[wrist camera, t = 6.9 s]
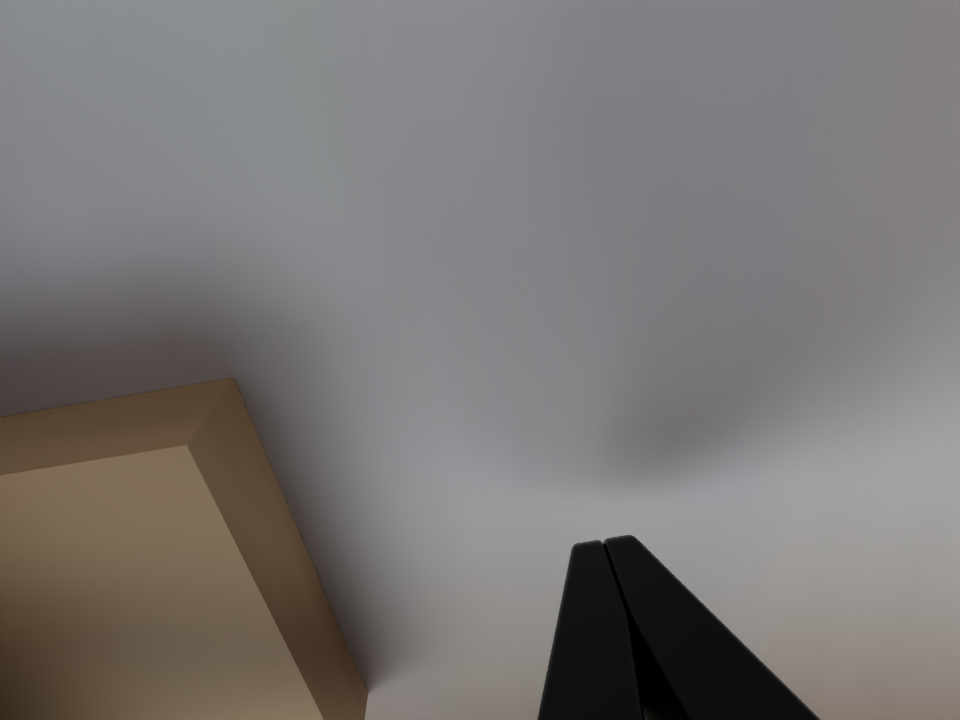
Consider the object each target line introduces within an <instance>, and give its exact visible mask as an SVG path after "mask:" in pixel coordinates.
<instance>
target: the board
mask: <svg viewBox="0 0 960 720" xmlns="http://www.w3.org/2000/svg"><path fill="white" fill-rule="evenodd" d="M367 697H368V693H367V690H366V688H365V686H364V683H363V681H362V678H361V676H360V674H359V671H358V669H357V667H356V664H355V662H354V660H353V657H352V655H351V653H350V650H349V648H348V645H347V643H346V641H345V638H344V636H343V634H342V631H341V629H340V627H339V624H338V622H337V620H336V617H335V615H334V612H333V610H332V608H331V605H330V603H329V601H328V598H327V596H326V594H325V591H324V589H323V587H322V584H321V582H320V580H319V577H318V575H317V572H316V570H315V568H314V565H313V563H312V561H311V558H310V556H309V554H308V551H307V549H306V547H305V544H304V542H303V539H302V537H301V535H300V532H299V530H298V528H297V525H296V523H295V521H294V518H293V516H292V514H291V511H290V509H289V507H288V504H287V502H286V499H285V497H284V495H283V492H282V490H281V488H280V485H279V483H278V481H277V478H276V476H275V474H274V471H273V469H272V466H271V464H270V462H269V459H268V457H267V455H266V452H265V450H264V448H263V445H262V443H261V441H260V438H259V436H258V434H257V431H256V429H255V426H254V424H253V422H252V419H251V417H250V415H249V412H248V410H247V408H246V405H245V403H244V401H243V398H242V396H241V393H240V391H239V389H238V386H237V384H236V382H235V379H234V378H228V379H222V380H216V381H210V382H204V383H198V384H192V385H186V386H180V387H174V388H169V389H163V390H157V391H151V392H145V393H139V394H133V395H127V396H121V397H115V398H109V399H104V400H98V401H92V402H86V403H80V404H74V405H68V406H62V407H56V408H50V409H44V410H38V411H33V412H27V413H21V414H15V415H9V416H3V417H0V720H364V719H365V712H366V705H367Z"/></svg>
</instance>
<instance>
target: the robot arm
mask: <svg viewBox="0 0 960 720" xmlns="http://www.w3.org/2000/svg"><path fill="white" fill-rule="evenodd" d="M537 720H820V719H819V718H818V717H817V716H816V715H815V714H814V713H813V712H812V711H811V710H810V709H809V708H808V707H807V706H806V705H805V704H804V703H803V702H802V701H801V700H800V699H799V698H798V697H797V696H796V695H795V694H794V693H793V692H792V691H791V690H790V689H789V688H788V687H787V686H786V685H785V684H784V683H783V682H782V681H781V680H780V679H779V678H778V677H777V676H776V675H775V674H774V673H773V672H772V671H771V670H770V669H769V668H768V667H767V666H766V665H765V664H764V663H763V662H762V661H760V660H759V659H758V658H757V657H756V656H755V655H754V654H753V653H752V652H751V651H750V650H749V649H748V648H747V647H746V646H745V645H744V644H743V643H742V642H741V641H740V640H739V639H738V638H737V637H736V636H735V635H734V634H733V633H732V632H731V631H730V630H729V629H728V628H727V627H726V626H725V625H724V624H723V623H722V622H721V621H720V620H719V619H718V618H717V617H716V616H715V615H714V614H713V613H712V612H711V611H710V610H709V609H708V608H707V607H706V606H705V605H704V604H703V603H702V602H701V601H700V600H699V599H698V598H697V597H696V596H694V595H693V594H692V593H691V592H690V591H689V590H688V589H687V588H686V587H685V586H684V585H683V584H682V583H681V582H680V581H679V580H678V579H677V578H676V577H675V576H674V575H673V574H672V573H671V572H670V571H669V570H668V569H667V568H666V567H665V566H664V565H663V564H662V563H661V562H660V561H659V560H658V559H657V558H656V557H655V556H654V555H653V554H652V553H651V552H650V551H649V550H648V549H647V548H646V547H645V546H644V545H643V544H642V543H641V542H640V541H639V540H638V539H636V538H635V537H634V536H632V535H624V536H618V537H612V538H607V539H606V540H605V541H604V543H602V542H601V541H599V540H595V541H589V542H583V543H577V544H575V545H574V546H573V547H572V550H571V555H570V560H569V565H568V570H567V575H566V580H565V585H564V590H563V595H562V600H561V605H560V610H559V615H558V620H557V625H556V630H555V635H554V640H553V645H552V650H551V655H550V660H549V665H548V669H547V674H546V679H545V684H544V689H543V694H542V699H541V704H540V709H539V714H538V719H537Z"/></svg>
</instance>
